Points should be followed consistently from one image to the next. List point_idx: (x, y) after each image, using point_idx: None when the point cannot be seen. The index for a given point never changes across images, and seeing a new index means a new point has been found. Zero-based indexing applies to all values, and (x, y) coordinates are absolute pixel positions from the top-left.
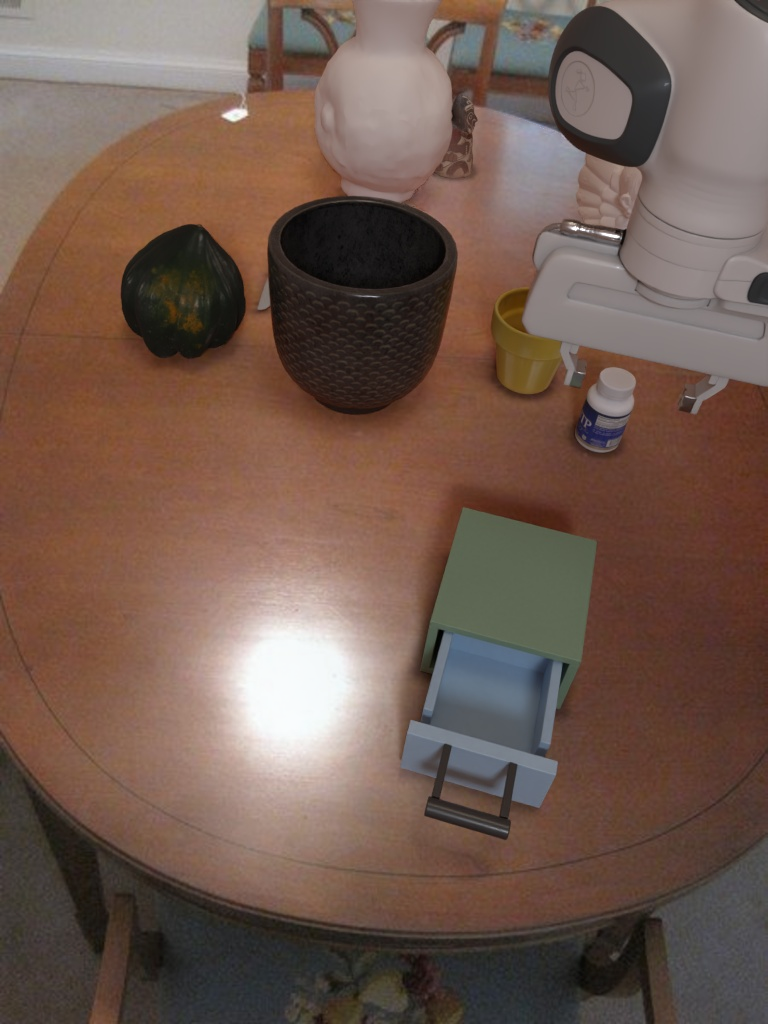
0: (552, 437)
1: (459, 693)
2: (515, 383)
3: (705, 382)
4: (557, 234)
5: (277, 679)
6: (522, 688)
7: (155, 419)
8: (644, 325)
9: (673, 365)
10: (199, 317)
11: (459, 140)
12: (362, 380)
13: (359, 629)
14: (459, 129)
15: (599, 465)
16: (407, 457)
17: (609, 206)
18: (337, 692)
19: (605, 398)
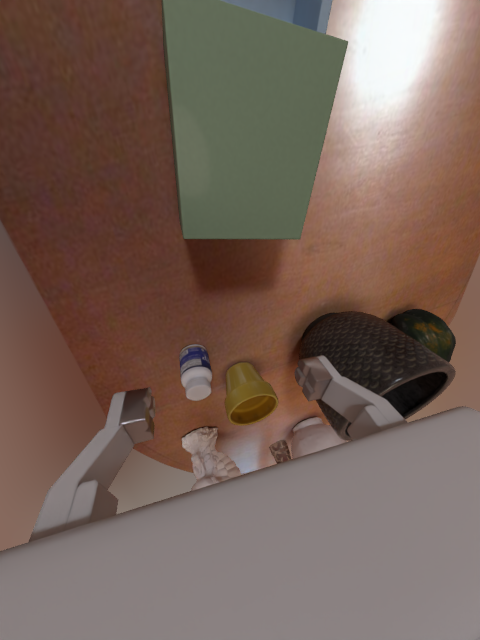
0: (218, 343)
1: (273, 13)
2: (246, 366)
3: (112, 465)
4: None
5: (408, 32)
6: None
7: (418, 273)
8: (369, 619)
9: (202, 495)
10: (420, 331)
11: (282, 459)
12: (355, 325)
13: (339, 122)
14: None
15: (187, 336)
16: (298, 298)
17: (223, 474)
18: (365, 23)
19: (201, 376)
